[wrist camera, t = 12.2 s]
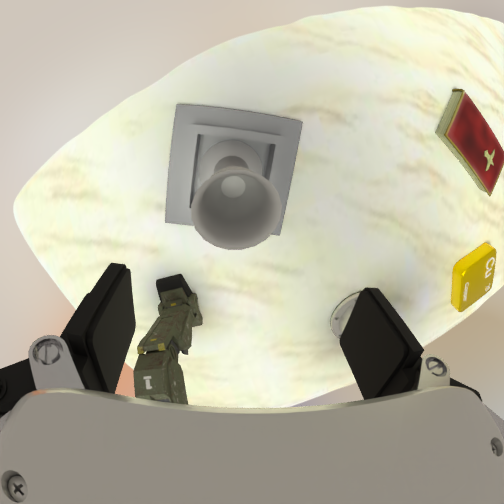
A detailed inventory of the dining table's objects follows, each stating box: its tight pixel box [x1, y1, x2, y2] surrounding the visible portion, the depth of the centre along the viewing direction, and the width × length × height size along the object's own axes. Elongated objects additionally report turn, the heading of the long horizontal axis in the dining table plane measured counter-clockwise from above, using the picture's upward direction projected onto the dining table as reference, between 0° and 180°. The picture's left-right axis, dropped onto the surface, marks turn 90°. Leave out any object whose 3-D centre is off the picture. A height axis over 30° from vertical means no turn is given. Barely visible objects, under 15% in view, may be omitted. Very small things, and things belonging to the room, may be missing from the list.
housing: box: [165, 104, 303, 235], centre depth 36 cm, size 18×18×5 cm
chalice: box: [191, 156, 282, 250], centre depth 30 cm, size 7×7×18 cm
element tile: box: [451, 243, 496, 312], centre depth 52 cm, size 15×15×5 cm
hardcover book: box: [435, 89, 504, 196], centre depth 37 cm, size 12×21×4 cm, turn 62°
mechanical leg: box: [134, 274, 202, 405], centre depth 36 cm, size 14×7×30 cm, turn 14°
